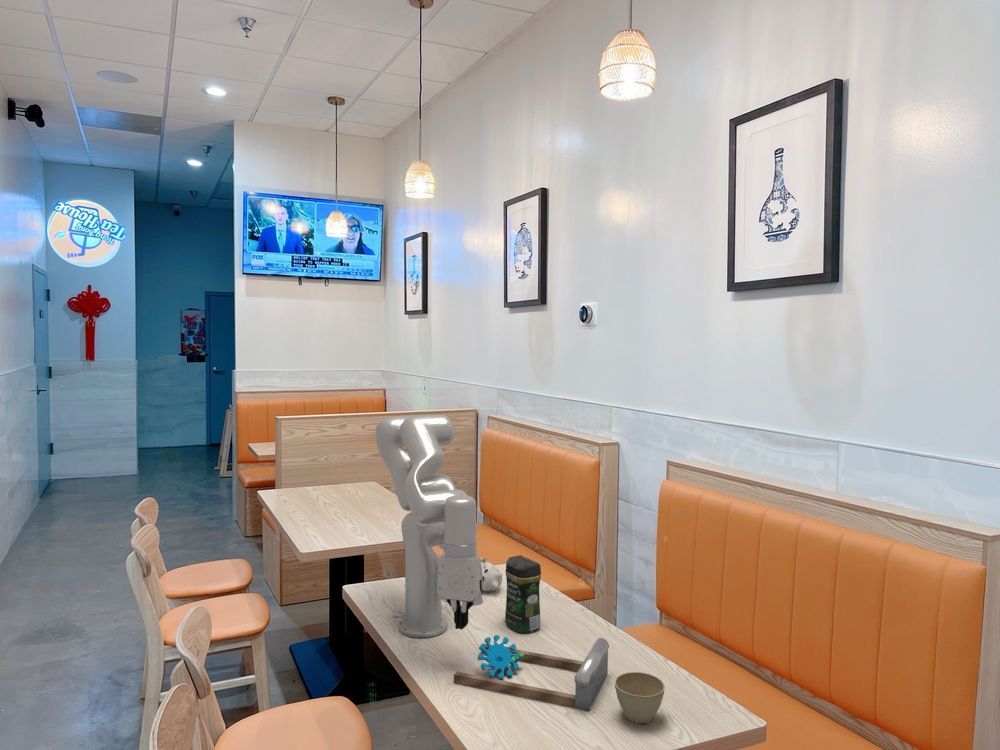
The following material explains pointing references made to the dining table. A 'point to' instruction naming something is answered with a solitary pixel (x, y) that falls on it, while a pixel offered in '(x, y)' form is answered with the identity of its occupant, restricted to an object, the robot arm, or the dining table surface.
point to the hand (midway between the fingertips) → (461, 626)
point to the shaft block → (591, 675)
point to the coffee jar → (522, 594)
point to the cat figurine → (490, 576)
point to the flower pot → (639, 695)
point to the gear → (499, 657)
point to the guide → (525, 690)
